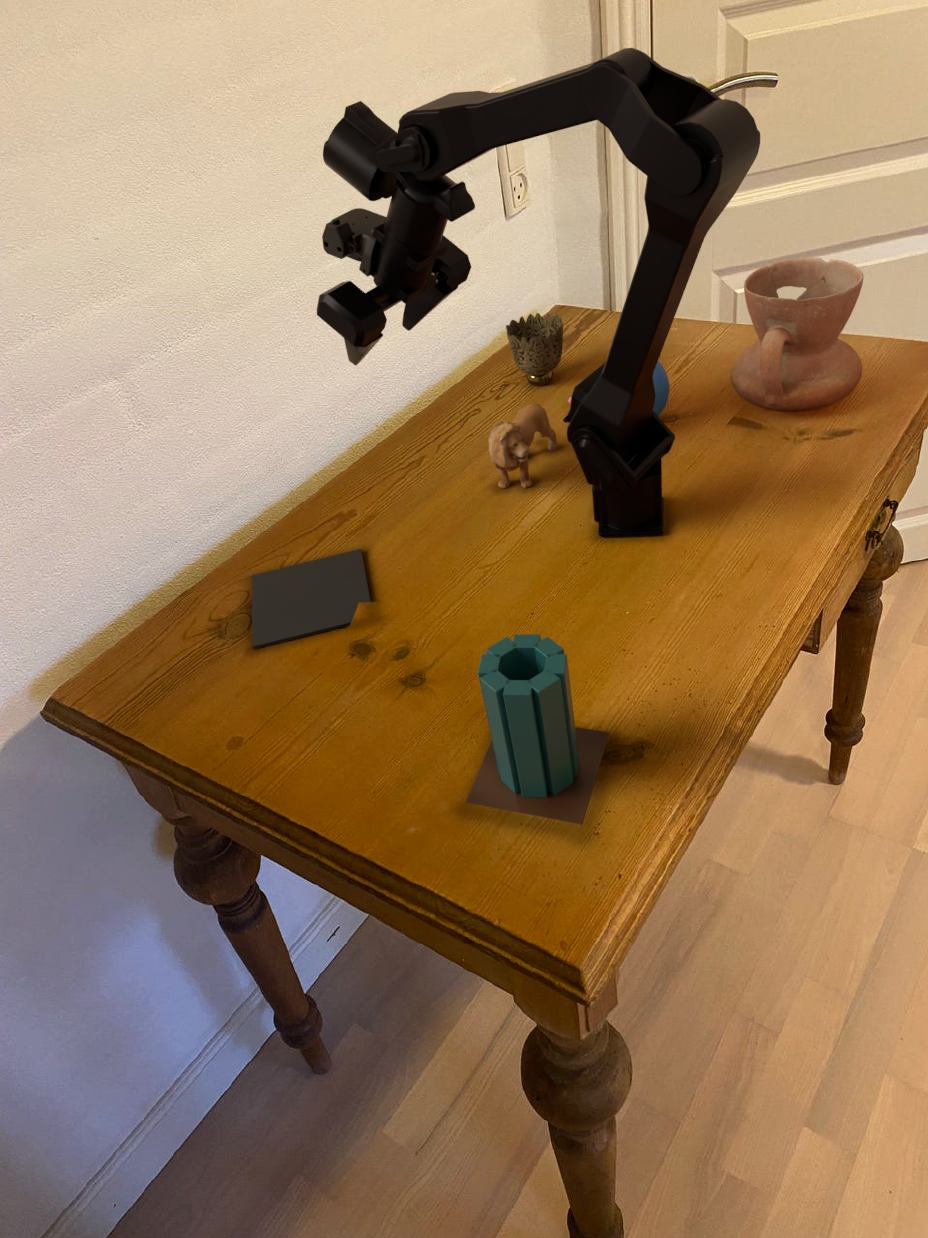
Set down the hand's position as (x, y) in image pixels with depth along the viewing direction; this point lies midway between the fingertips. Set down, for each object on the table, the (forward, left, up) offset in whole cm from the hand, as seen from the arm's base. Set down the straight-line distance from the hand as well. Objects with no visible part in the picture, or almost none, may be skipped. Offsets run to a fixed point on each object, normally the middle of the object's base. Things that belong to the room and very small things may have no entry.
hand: (380, 344), depth 100 cm
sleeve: (-22, +49, -14) cm, 55 cm away
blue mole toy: (-26, -5, -15) cm, 30 cm away
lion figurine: (-16, +5, -15) cm, 22 cm away
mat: (+4, +27, -15) cm, 31 cm away
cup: (-15, -18, -15) cm, 28 cm away
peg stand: (-22, +49, -15) cm, 55 cm away
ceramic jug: (-46, -9, -15) cm, 49 cm away
